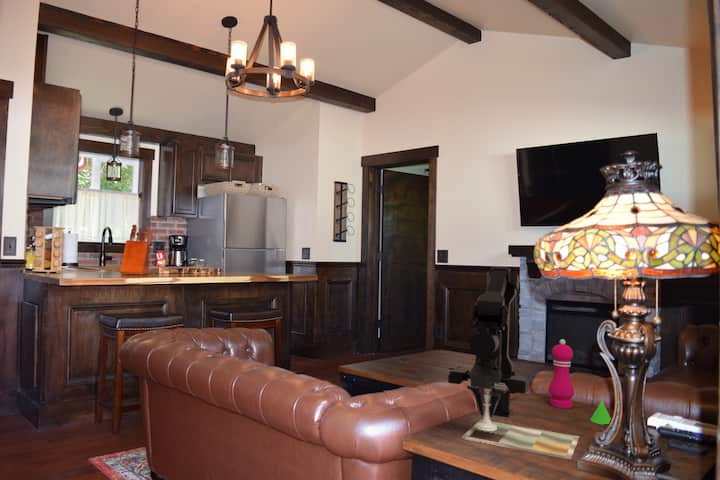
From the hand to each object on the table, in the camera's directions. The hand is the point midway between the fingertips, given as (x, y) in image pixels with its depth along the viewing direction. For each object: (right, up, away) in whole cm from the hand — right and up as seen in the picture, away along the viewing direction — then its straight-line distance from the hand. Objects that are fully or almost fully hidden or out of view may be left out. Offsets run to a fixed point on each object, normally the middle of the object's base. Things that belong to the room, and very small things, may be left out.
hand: (487, 416), depth 134 cm
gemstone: (+35, -8, +17) cm, 40 cm away
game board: (+8, -5, 0) cm, 10 cm away
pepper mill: (+30, -8, +33) cm, 45 cm away
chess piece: (0, -3, 0) cm, 3 cm away
